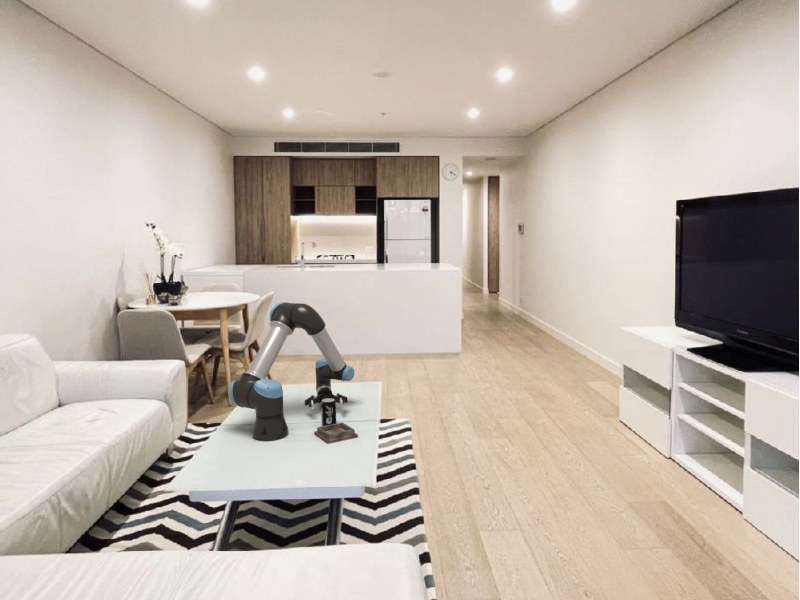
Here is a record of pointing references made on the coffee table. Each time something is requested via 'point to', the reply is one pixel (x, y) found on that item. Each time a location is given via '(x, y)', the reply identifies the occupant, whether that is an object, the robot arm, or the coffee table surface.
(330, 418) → the beverage can
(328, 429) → the tray
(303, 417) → the coffee table surface
